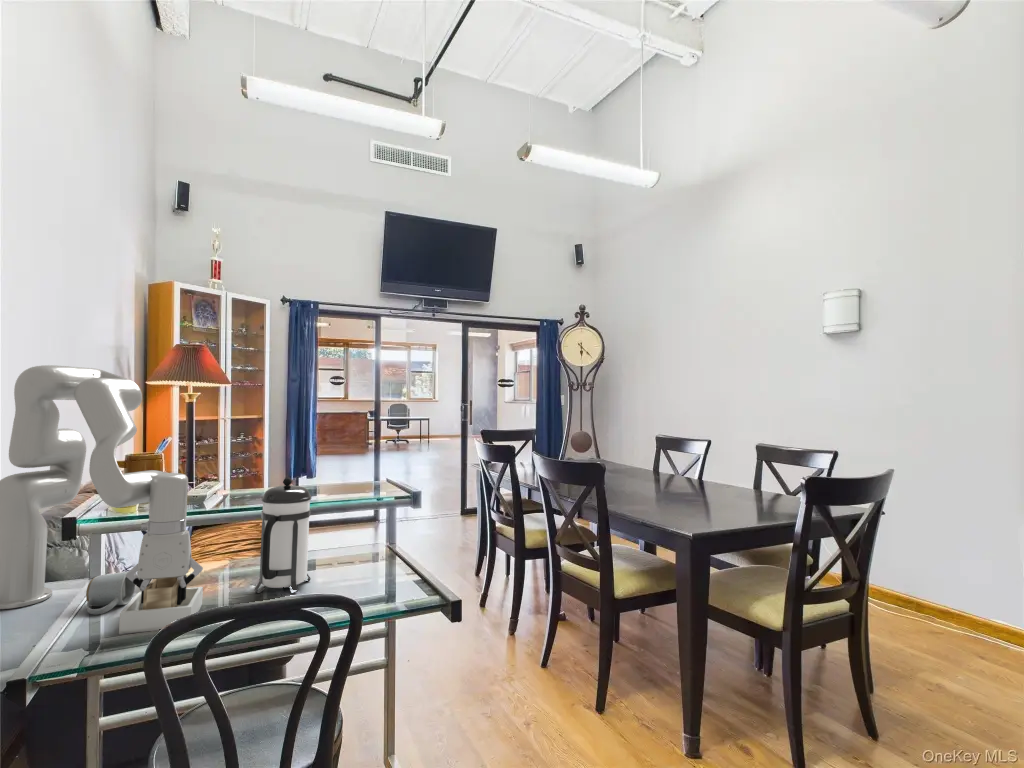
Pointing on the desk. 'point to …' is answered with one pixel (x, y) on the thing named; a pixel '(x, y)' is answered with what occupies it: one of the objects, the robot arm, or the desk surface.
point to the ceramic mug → (109, 592)
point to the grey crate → (157, 613)
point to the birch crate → (161, 594)
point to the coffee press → (284, 536)
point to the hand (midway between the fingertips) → (163, 603)
